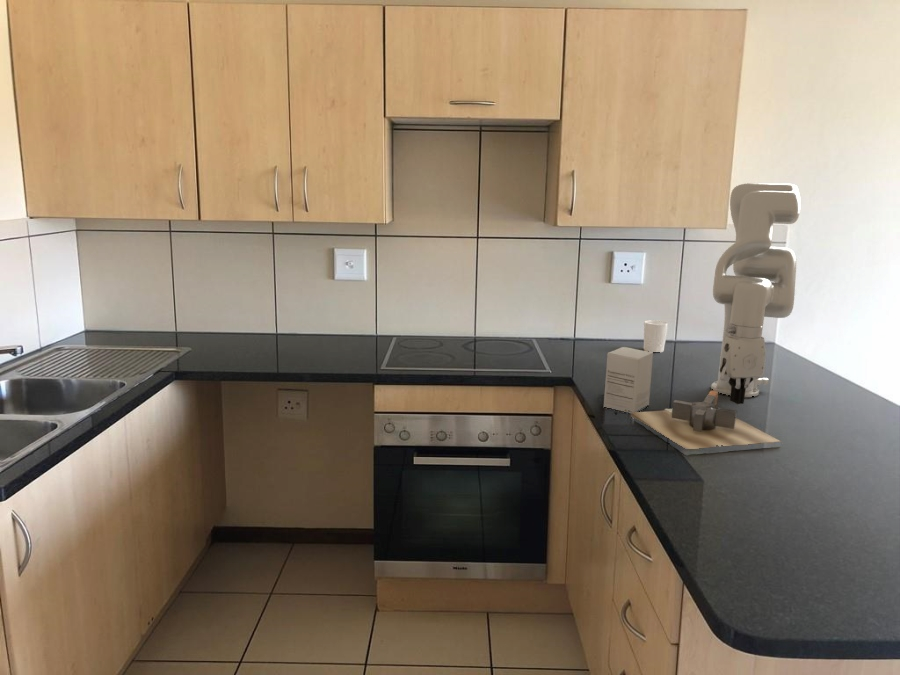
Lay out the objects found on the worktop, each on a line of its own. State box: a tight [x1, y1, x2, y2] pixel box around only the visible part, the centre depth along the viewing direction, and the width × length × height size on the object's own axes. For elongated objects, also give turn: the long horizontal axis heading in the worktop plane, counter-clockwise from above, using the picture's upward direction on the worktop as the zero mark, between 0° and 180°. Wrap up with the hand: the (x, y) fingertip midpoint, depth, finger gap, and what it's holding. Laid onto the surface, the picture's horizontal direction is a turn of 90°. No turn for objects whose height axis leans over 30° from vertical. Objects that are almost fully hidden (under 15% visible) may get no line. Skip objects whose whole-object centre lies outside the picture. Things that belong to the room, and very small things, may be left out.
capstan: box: [671, 390, 738, 432], centre depth 166 cm, size 21×14×5 cm, turn 150°
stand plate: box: [630, 409, 782, 449], centre depth 164 cm, size 24×24×2 cm
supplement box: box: [603, 346, 654, 413], centre depth 179 cm, size 9×9×15 cm
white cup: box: [643, 319, 669, 353], centre depth 240 cm, size 8×8×10 cm
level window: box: [664, 408, 673, 415], centre depth 173 cm, size 6×3×1 cm, turn 105°
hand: (736, 402), depth 175 cm, fingers closed
